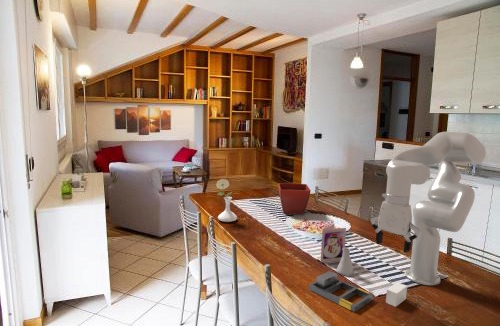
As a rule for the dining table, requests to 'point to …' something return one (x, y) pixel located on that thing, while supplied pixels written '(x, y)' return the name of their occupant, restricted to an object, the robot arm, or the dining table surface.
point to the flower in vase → (227, 214)
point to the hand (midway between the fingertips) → (392, 247)
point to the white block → (396, 294)
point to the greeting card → (332, 243)
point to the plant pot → (294, 197)
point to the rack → (330, 284)
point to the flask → (345, 263)
